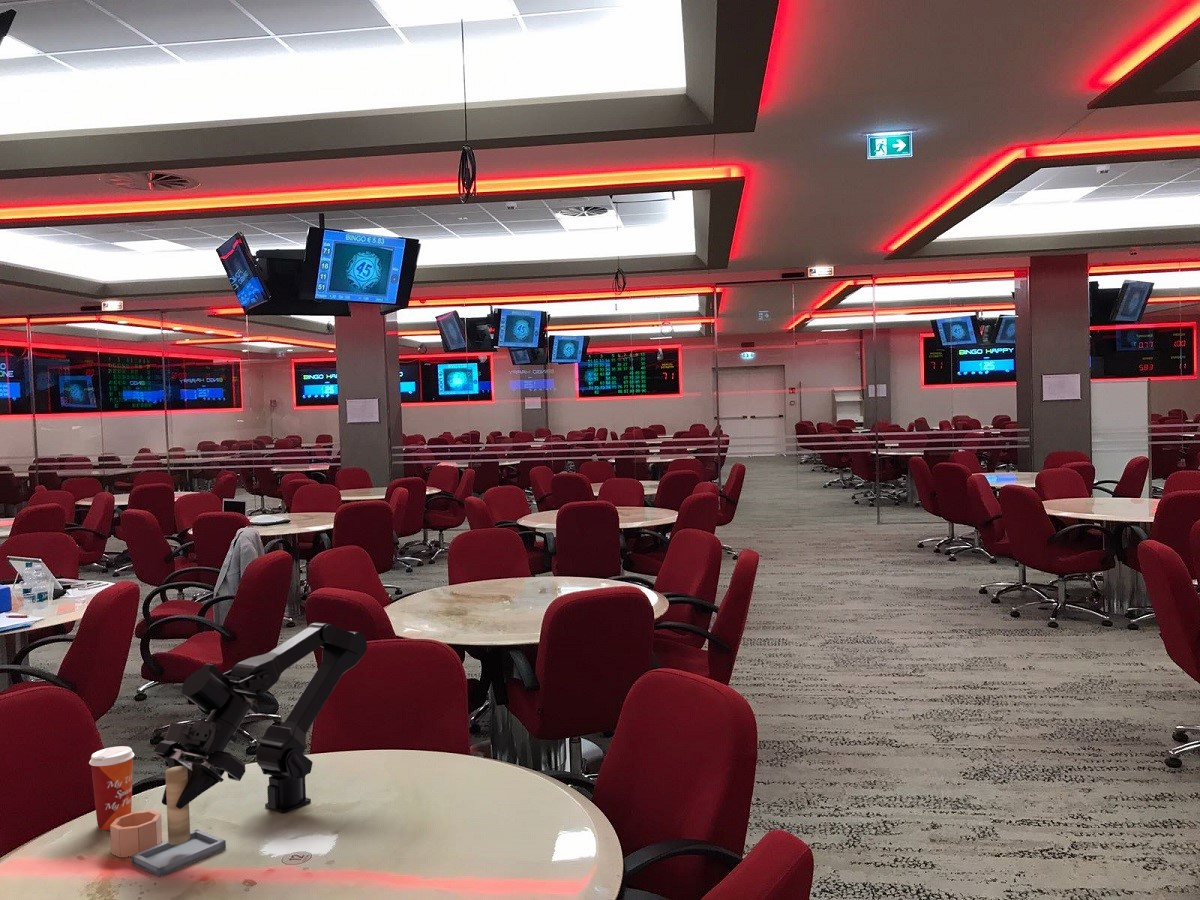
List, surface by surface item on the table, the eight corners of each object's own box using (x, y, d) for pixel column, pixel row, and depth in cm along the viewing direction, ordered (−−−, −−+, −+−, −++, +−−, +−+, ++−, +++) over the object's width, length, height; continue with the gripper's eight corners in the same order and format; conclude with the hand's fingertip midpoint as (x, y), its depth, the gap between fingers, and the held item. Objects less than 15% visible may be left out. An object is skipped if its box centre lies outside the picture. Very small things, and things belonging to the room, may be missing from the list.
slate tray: (197, 837, 162) (197, 829, 162) (225, 848, 157) (225, 840, 157) (132, 864, 152) (131, 855, 152) (159, 877, 147) (159, 868, 147)
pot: (146, 834, 164) (145, 807, 164) (168, 843, 159) (167, 816, 159) (104, 850, 157) (103, 822, 157) (126, 860, 153) (125, 832, 153)
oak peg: (177, 835, 156) (174, 765, 156) (194, 836, 156) (191, 766, 155) (163, 844, 153) (160, 772, 153) (181, 845, 152) (178, 773, 152)
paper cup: (117, 834, 164) (114, 759, 164) (81, 832, 166) (79, 758, 166) (146, 816, 172) (143, 745, 172) (112, 814, 173) (110, 744, 173)
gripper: (160, 696, 162) (105, 777, 152) (228, 707, 153) (174, 794, 143) (199, 725, 169) (149, 804, 159) (267, 738, 160) (217, 822, 150)
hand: (170, 805), depth 153 cm, fingers closed on oak peg, 3 cm apart
